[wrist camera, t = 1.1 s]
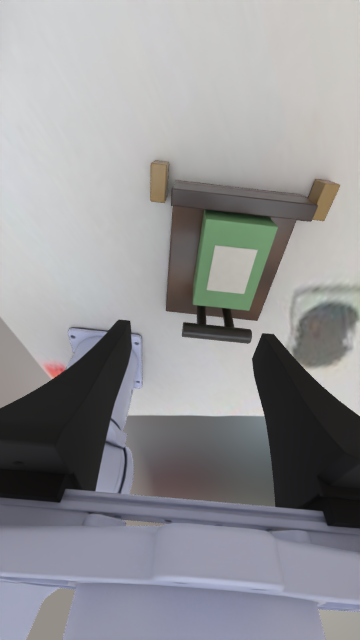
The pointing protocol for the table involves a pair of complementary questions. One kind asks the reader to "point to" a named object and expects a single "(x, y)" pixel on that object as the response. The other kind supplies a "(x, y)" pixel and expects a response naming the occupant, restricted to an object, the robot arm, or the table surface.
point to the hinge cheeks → (319, 194)
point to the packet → (231, 258)
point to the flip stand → (185, 244)
